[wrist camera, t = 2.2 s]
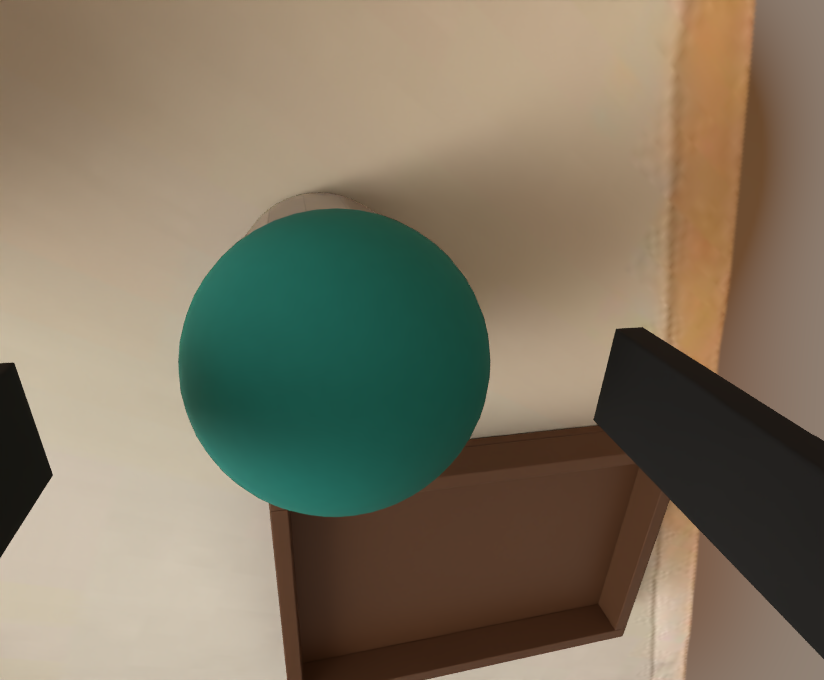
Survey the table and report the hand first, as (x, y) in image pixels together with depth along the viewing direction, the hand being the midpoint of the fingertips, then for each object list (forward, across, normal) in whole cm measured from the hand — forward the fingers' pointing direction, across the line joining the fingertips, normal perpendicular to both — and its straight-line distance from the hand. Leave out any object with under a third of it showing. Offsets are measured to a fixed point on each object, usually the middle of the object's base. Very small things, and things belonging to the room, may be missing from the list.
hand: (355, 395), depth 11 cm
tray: (+10, -8, +17) cm, 21 cm away
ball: (+2, 0, 0) cm, 2 cm away
